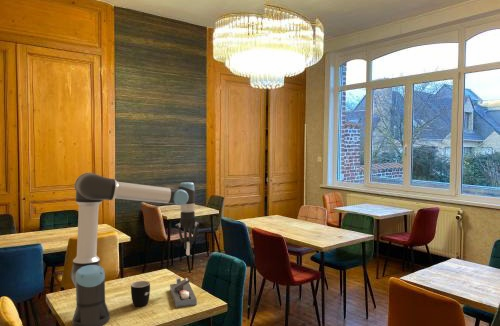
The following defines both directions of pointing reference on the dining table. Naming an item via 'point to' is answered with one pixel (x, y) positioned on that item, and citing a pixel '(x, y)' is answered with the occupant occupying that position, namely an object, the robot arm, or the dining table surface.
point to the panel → (177, 296)
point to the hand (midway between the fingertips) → (187, 254)
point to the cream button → (184, 295)
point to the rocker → (181, 283)
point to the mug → (140, 293)
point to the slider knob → (178, 279)
